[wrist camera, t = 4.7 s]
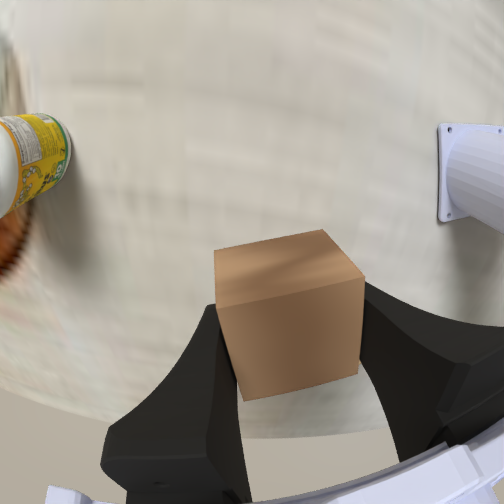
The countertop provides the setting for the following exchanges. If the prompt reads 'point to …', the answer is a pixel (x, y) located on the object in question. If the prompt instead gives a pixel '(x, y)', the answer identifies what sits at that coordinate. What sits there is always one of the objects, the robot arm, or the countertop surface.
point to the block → (289, 312)
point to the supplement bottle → (30, 157)
